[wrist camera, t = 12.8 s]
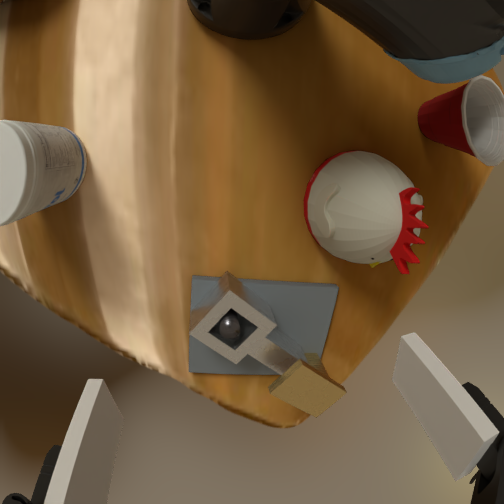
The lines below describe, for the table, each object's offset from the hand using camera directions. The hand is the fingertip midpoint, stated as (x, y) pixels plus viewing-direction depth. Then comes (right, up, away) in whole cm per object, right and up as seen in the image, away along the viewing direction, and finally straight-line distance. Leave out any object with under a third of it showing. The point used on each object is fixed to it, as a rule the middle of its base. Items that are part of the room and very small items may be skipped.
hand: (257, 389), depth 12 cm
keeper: (+5, -8, +31) cm, 32 cm away
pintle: (-3, -1, +27) cm, 27 cm away
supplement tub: (-24, +17, +20) cm, 36 cm away
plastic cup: (+25, +24, +24) cm, 43 cm away
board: (+1, -5, +30) cm, 31 cm away
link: (0, -4, +29) cm, 29 cm away
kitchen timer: (+13, +12, +27) cm, 32 cm away
